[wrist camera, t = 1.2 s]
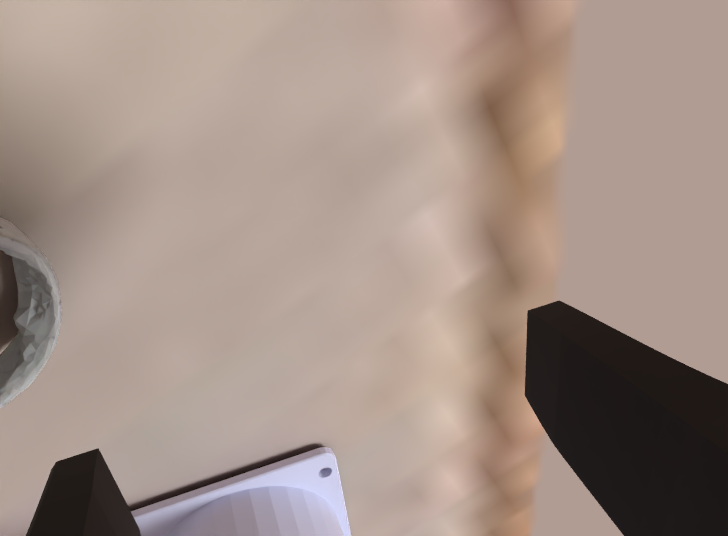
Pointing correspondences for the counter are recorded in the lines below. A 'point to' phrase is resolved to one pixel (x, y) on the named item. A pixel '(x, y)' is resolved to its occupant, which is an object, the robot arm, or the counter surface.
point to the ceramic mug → (29, 313)
